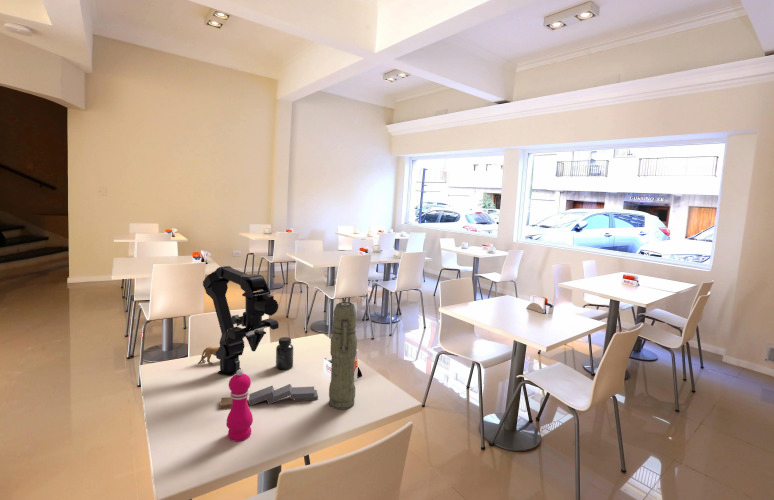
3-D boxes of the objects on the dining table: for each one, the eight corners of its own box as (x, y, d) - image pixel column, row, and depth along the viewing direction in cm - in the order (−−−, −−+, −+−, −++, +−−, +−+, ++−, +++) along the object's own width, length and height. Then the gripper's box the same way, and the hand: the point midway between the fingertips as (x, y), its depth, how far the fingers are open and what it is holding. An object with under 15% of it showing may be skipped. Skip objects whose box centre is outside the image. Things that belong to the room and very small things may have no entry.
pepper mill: (230, 428, 123) (230, 364, 120) (255, 428, 123) (255, 364, 121) (223, 442, 115) (222, 374, 113) (249, 442, 116) (249, 375, 114)
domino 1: (220, 405, 133) (246, 402, 136) (221, 397, 138) (246, 395, 140) (220, 410, 133) (246, 407, 136) (221, 402, 138) (246, 400, 141)
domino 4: (290, 394, 139) (314, 393, 141) (291, 387, 144) (314, 386, 146) (290, 399, 140) (314, 398, 141) (291, 392, 145) (314, 391, 146)
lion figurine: (234, 357, 176) (234, 336, 175) (237, 361, 172) (237, 340, 170) (197, 362, 168) (196, 341, 167) (198, 367, 164) (198, 345, 163)
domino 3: (266, 399, 137) (289, 390, 138) (268, 392, 142) (290, 383, 143) (268, 404, 138) (291, 394, 139) (270, 397, 143) (292, 388, 143)
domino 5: (294, 398, 140) (318, 396, 143) (293, 391, 145) (316, 389, 147) (294, 403, 140) (317, 401, 143) (293, 396, 145) (316, 394, 148)
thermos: (351, 393, 148) (355, 299, 143) (357, 410, 136) (361, 308, 132) (327, 395, 145) (329, 299, 141) (330, 412, 134) (334, 308, 130)
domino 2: (248, 400, 136) (272, 391, 137) (249, 394, 141) (272, 385, 142) (250, 405, 136) (273, 396, 138) (251, 398, 141) (274, 389, 143)
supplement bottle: (285, 362, 173) (285, 334, 171) (296, 366, 169) (297, 338, 167) (272, 367, 167) (272, 339, 166) (283, 372, 163) (283, 343, 162)
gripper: (261, 301, 161) (261, 339, 163) (217, 310, 146) (217, 352, 148) (279, 306, 155) (279, 346, 156) (236, 316, 140) (236, 360, 141)
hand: (253, 351), depth 151 cm, fingers closed
